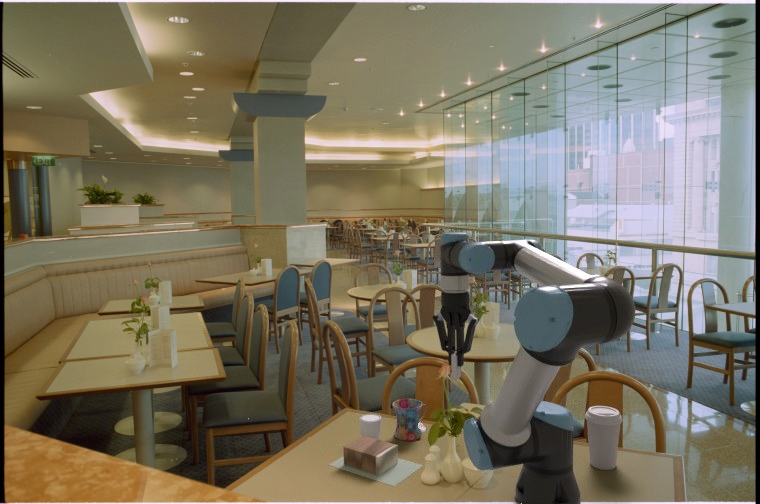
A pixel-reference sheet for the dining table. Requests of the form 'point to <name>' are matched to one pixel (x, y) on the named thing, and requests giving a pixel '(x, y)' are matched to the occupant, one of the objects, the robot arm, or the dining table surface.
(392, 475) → the rubber mat
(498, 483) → the dining table surface
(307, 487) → the dining table surface
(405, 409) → the mug
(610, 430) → the coffee cup
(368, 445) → the walnut block
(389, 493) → the dining table surface
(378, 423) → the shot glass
